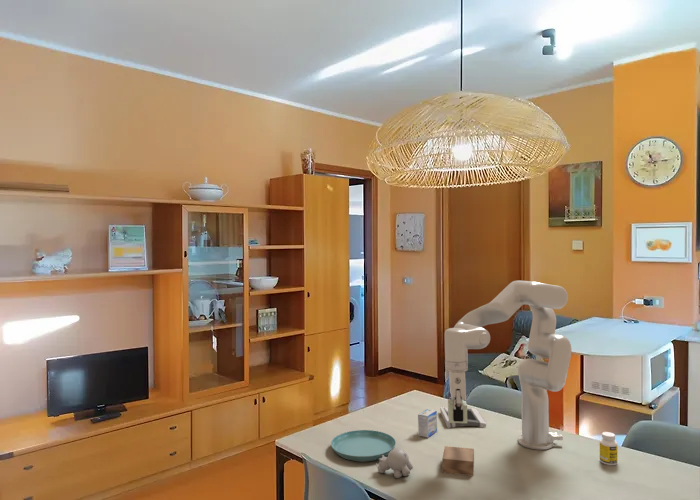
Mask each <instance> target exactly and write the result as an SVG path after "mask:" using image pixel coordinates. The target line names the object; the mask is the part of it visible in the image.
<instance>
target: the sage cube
mask: <svg viewBox="0 0 700 500" xmlns="http://www.w3.org/2000/svg"><path fill="white" fill-rule="evenodd" d="M455 400H457V399H455ZM460 400H461V399H460ZM455 403H457V402H455ZM447 407H448V418H449V423H467V408H468V403H467V400H466V401H464V400H463V399H462V409H463V421H462V422H460V421H454V420H453V409H454V401H453V400H452V398H449V399H447Z"/></svg>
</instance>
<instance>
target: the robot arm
mask: <svg viewBox="0 0 700 500" xmlns="http://www.w3.org/2000/svg"><path fill="white" fill-rule="evenodd" d="M568 300H569V294H568V292H567V290H566V289H565V288H564V287H563V286H561V285H554V284H551V283H550V284H548V283H542V282H538V281H530V280H513V281H511V282H510V283H508V284H507V286H505V288H504V289H502V291H500V292H499V293H498V295H496V296H495V297H494V298H493V299H492V300H491V301H489V302H488V303H486V304H484V305H481V306H479V307H478V308H477V307H476V308H475V309H472V310H470V311H469V312H467V313H466V314H465V315H464V316H463V317H461V318H460V319H459V320H458V321H457V322H456V323H455V325H454V327H449V328H447V329H445V331H444V358H445V360H444V363H445V365H444V367H445V368H444V369H445V370H446V371H448V379H449V381H448V382H449V393H450V397H451V398H450V399H452V400H453V401H454V409H453V420H454V421H460V422H462V421H463V409H462V400H464V401H466V402H467V382H466V372H468V370H469V366H468V365H469V360H468V356H469V355H468V350H481V349H482V350H483V349H484V348H487V346H488V345H489V344H490V341H491V335H490V332H489V331H488V329H485V328H484V327H485V326H488V325H494V324H499V323H503V322H506V321H508V320H510V318H511V317H512V316H514V314H515V313H516V312H517V311H518V310H519V309H520V308H521V307H523V306H524V305H528V306H529V308H530V310H531V314H532V322H531V326H530V332H529V337H528V342H527V349H528V351H529V353H530V354H531V355H534V356H536V357H540V358H544V359H548V362H546V361H543V360H540V359H536V358H526V359H523V360H522V361H520V363H519V366H518V367H517V368H518V369H517V372H518V373H517V375H518V379H519V383H520V384H519V385H520V391H521V397H520V398H521V434H520V435H519V436H518V437H517V442H518V443H519V445H521V446H523V447H524V448H527V449H531V450H538V451H539V450H540V451H542V450H548V449H551V448H553V447H554V446H555V445H554V441H555V440H556V441H563V439H564V438H563V435H562V434H558V432H550V423H549V422H550V421H549V419H550V417H549V412H550V411H549V395H548V391H550V392H559V391H561V390H562V389H564V387H565V384H566V380H567V377H568V372H569V367H570V362H571V359H572V358H571V357H572V344H571V342H570V340H569V339H568V337H566V336H564V335H563V334H558V333H556V327H557V316H556V313H555V311H554V310H561V309H562V308H564V307H565V306H566V305H567V303H568ZM455 399H457V400H455ZM460 399H461V400H460ZM455 402H457V403H455Z"/></svg>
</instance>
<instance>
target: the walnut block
mask: <svg viewBox="0 0 700 500" xmlns="http://www.w3.org/2000/svg"><path fill="white" fill-rule="evenodd" d="M442 453H443V455H442V465H441V466H442V474H443V473H444V474H453V475H455V474H456V475H463V476H473V477H474V472H475V471H474V470H475V469H474V468H475V449H474V448H467V447H457V446H448V445H447V446H444V448H443V452H442Z"/></svg>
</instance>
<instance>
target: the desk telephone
mask: <svg viewBox="0 0 700 500" xmlns="http://www.w3.org/2000/svg"><path fill="white" fill-rule="evenodd" d="M439 410H440V414H441V417H442V418H443V421H444V423H445V426H446V427H447V428H448V429H451V428H456V427H465V426H469V427H471V426H472V427H479V428H486V427H487V422H486V420H485V419H484V417H483V416H482V415H481V414H480V412H479V411H478V410H477V409H476V408H473V407H471V408H468V407H467V423H449V418H448V406H445V407H444V406H440V407H439Z"/></svg>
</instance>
